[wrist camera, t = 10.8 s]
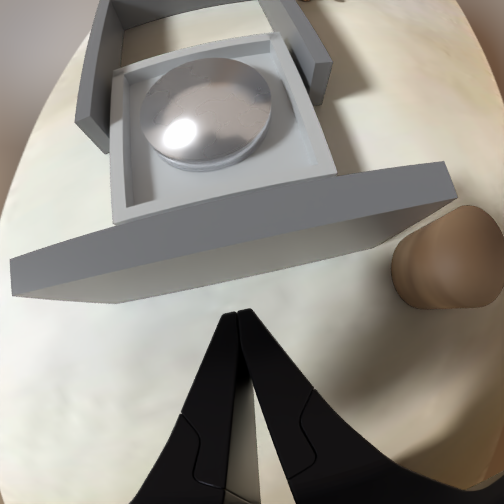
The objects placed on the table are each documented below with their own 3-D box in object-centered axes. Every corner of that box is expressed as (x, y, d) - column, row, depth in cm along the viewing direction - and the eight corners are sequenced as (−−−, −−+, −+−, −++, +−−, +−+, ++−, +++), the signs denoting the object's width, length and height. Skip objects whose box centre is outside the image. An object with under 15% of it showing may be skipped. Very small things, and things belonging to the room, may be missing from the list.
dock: (321, 104, 17) (332, 62, 13) (104, 154, 17) (74, 122, 13) (265, -7, 20) (265, -40, 16) (114, 28, 20) (100, -1, 16)
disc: (255, 66, 16) (255, 48, 15) (284, 157, 15) (287, 142, 14) (147, 91, 16) (139, 75, 15) (153, 187, 15) (143, 174, 14)
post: (459, 296, 15) (515, 290, 10) (400, 319, 15) (451, 321, 10) (442, 225, 16) (492, 199, 11) (382, 240, 16) (426, 213, 11)
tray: (372, 248, 15) (457, 197, 7) (115, 304, 15) (12, 295, 7) (298, 52, 18) (309, -40, 10) (105, 96, 18) (54, 21, 10)
